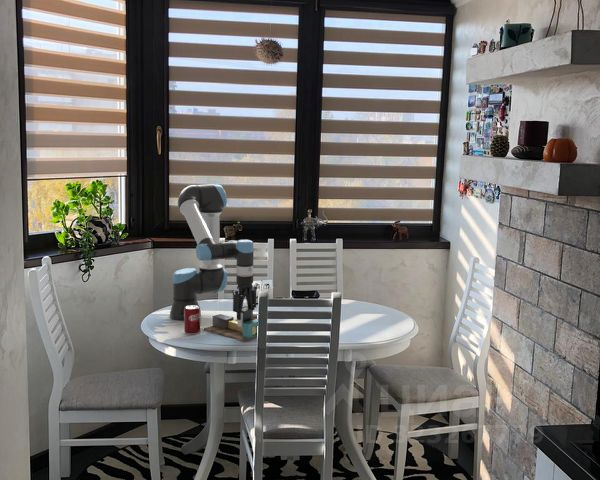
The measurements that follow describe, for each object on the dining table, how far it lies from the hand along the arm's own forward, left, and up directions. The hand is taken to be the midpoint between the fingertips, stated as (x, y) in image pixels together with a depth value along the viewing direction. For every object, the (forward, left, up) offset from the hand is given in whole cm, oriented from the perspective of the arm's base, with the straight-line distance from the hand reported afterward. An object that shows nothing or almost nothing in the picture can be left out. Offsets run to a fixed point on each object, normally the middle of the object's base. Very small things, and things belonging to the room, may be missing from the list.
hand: (244, 325), depth 337 cm
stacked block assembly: (-6, 0, -4) cm, 7 cm away
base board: (-6, 0, -5) cm, 8 cm away
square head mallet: (-3, 0, -3) cm, 4 cm away
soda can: (-21, -13, -5) cm, 25 cm away
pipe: (-15, +21, -5) cm, 27 cm away
